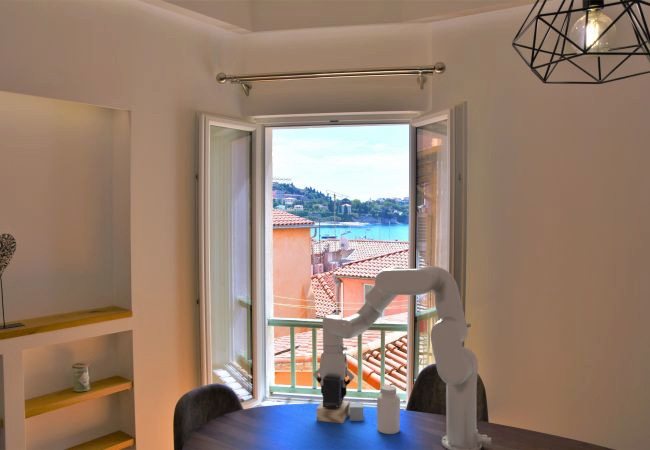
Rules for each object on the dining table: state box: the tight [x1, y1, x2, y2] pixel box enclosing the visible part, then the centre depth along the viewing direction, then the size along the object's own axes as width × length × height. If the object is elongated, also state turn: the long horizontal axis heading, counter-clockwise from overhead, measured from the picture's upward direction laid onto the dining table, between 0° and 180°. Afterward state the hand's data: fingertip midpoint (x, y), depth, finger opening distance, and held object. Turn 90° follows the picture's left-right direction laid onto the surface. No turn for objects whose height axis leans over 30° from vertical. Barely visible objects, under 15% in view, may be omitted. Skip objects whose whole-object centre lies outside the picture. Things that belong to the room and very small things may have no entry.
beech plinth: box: [316, 400, 350, 424], centre depth 192 cm, size 10×10×4 cm
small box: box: [322, 376, 345, 408], centre depth 192 cm, size 11×6×10 cm, turn 168°
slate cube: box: [349, 401, 364, 422], centre depth 191 cm, size 5×5×5 cm
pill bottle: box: [376, 384, 401, 435], centre depth 180 cm, size 8×8×15 cm
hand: (333, 395), depth 192 cm, fingers closed on small box, 6 cm apart
